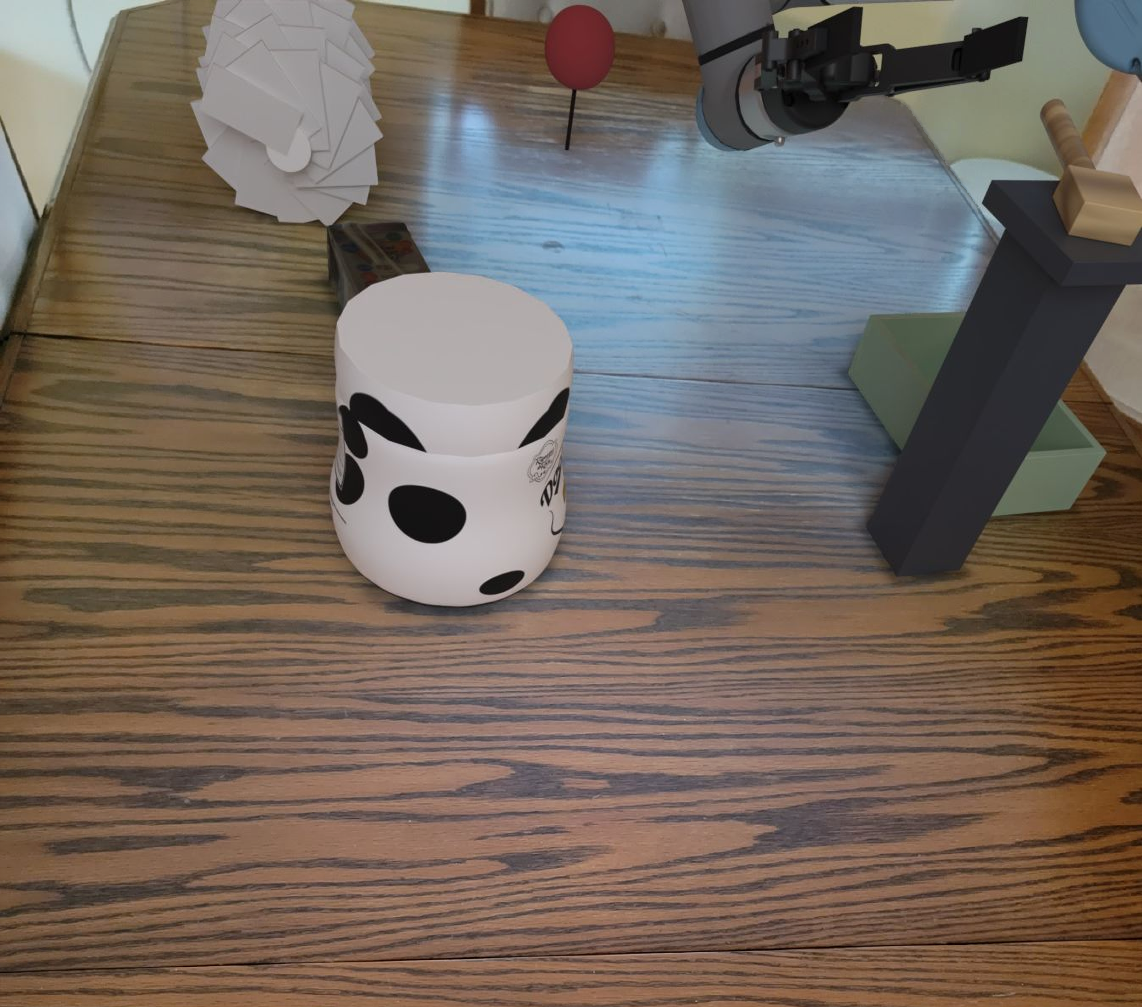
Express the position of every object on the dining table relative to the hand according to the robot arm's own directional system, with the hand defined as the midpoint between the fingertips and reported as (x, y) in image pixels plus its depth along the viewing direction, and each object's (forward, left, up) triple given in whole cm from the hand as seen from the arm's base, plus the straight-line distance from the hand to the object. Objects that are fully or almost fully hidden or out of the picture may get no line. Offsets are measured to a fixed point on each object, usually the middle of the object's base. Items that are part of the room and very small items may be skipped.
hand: (941, 34), depth 73 cm
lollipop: (+34, -38, -31) cm, 60 cm away
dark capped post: (-11, +18, -31) cm, 37 cm away
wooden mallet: (-10, +12, -3) cm, 16 cm away
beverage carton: (+39, +7, -31) cm, 50 cm away
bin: (-14, 0, -31) cm, 34 cm away
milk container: (+25, +32, -31) cm, 51 cm away
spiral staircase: (+58, -15, -31) cm, 67 cm away
